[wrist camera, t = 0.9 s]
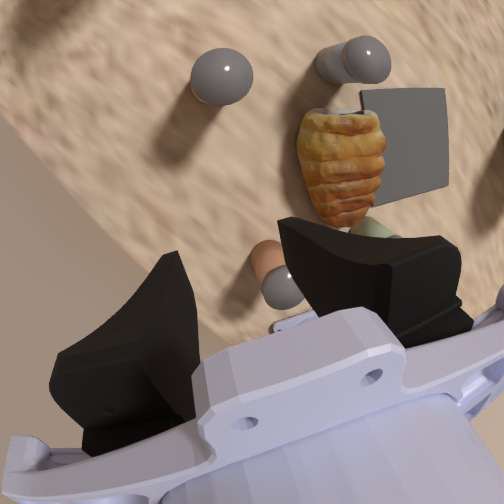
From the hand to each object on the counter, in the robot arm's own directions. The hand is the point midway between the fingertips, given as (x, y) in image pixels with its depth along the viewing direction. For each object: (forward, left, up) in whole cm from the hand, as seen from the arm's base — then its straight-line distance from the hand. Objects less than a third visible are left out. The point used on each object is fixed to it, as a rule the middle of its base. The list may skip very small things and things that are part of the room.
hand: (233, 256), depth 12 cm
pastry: (0, -10, -10) cm, 14 cm away
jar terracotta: (-7, -3, -10) cm, 13 cm away
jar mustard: (+7, -2, -10) cm, 13 cm away
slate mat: (0, -18, -10) cm, 21 cm away
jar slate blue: (+7, -11, -10) cm, 17 cm away
